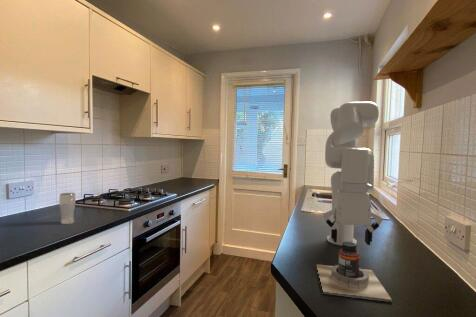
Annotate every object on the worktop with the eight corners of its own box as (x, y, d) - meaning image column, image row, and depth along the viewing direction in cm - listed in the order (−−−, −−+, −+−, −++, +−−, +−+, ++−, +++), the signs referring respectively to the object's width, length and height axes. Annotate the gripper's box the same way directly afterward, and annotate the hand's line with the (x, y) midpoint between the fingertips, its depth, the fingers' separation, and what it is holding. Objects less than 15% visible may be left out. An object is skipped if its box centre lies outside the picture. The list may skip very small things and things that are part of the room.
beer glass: (73, 223, 137) (74, 194, 136) (57, 225, 134) (57, 195, 134) (76, 220, 143) (76, 192, 143) (61, 221, 141) (61, 192, 140)
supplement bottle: (352, 274, 87) (354, 240, 86) (362, 284, 81) (364, 247, 80) (334, 274, 87) (336, 240, 86) (343, 284, 81) (344, 247, 80)
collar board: (316, 267, 94) (316, 257, 94) (371, 272, 91) (371, 262, 91) (322, 294, 76) (323, 282, 76) (391, 302, 73) (392, 290, 73)
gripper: (379, 187, 85) (376, 240, 86) (322, 184, 88) (320, 235, 89) (388, 191, 77) (385, 249, 78) (325, 188, 80) (323, 244, 81)
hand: (350, 242), depth 84 cm, fingers open, 9 cm apart
